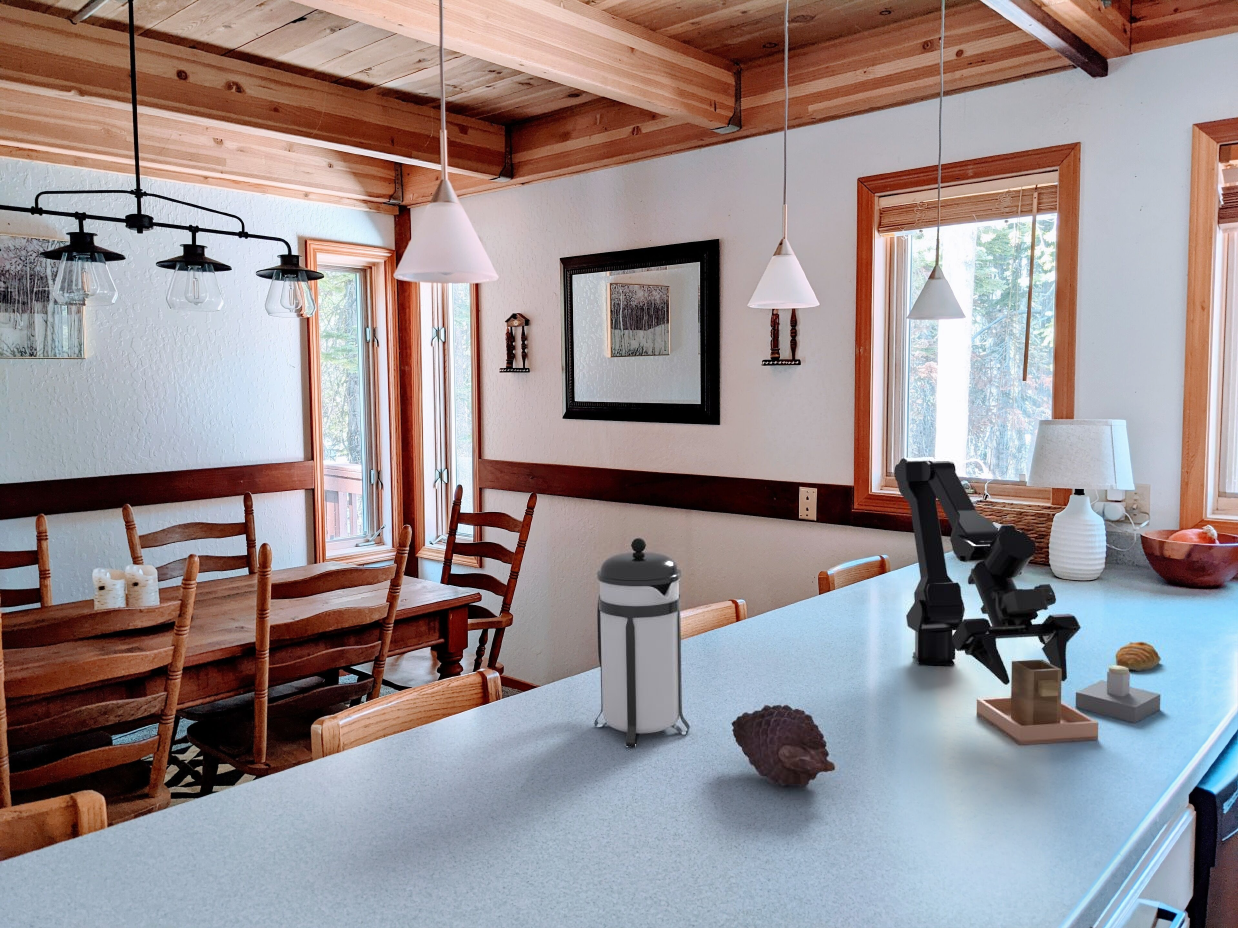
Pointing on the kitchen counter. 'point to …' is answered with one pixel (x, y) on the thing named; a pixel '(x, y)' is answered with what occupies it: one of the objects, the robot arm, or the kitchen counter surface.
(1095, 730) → the terracotta tray
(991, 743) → the kitchen counter surface
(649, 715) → the coffee press
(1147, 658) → the pastry
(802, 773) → the pine cone
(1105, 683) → the block
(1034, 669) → the walnut sleeve
